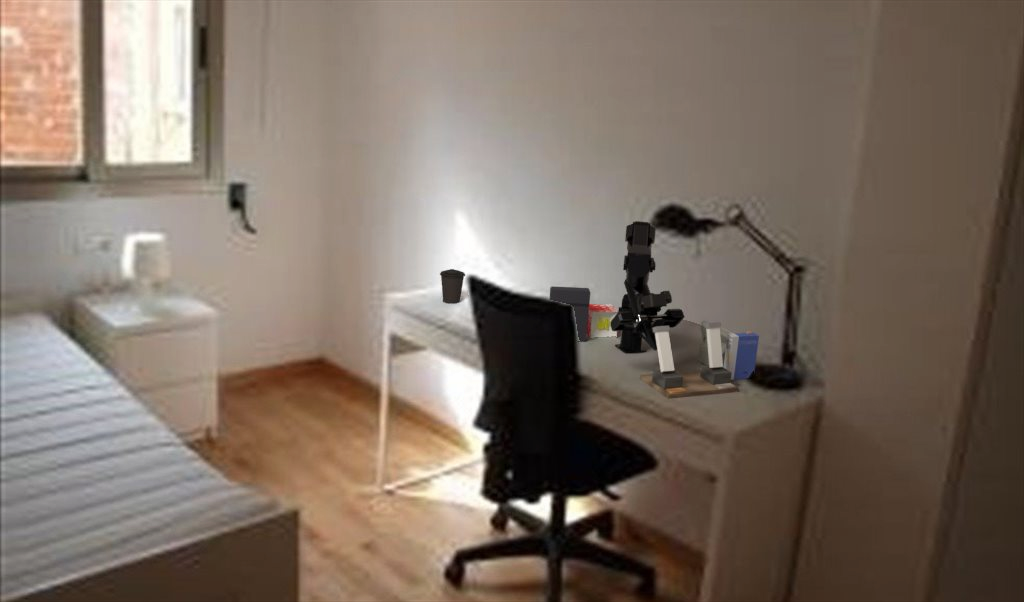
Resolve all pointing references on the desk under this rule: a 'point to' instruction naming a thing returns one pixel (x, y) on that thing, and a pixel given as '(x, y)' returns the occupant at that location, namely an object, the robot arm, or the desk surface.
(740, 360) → the walkman
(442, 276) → the coffee cup
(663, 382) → the switch board
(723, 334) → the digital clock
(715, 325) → the lever
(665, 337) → the lever
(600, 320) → the red and white cube
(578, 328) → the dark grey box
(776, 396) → the desk surface
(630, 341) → the robot arm
